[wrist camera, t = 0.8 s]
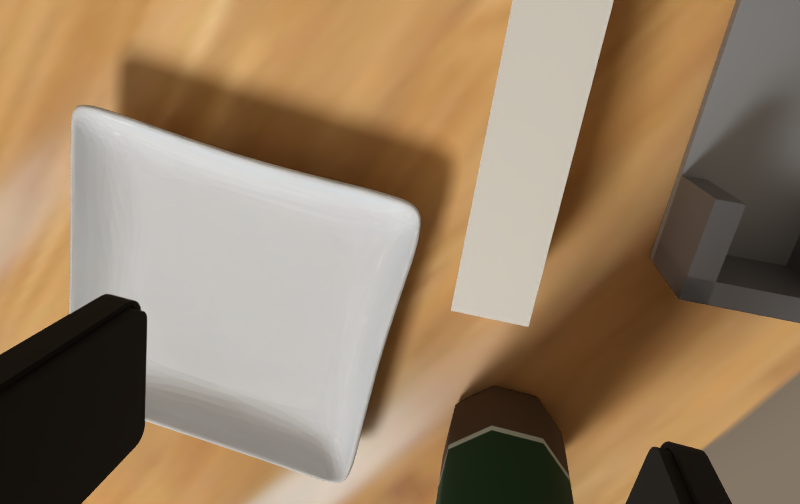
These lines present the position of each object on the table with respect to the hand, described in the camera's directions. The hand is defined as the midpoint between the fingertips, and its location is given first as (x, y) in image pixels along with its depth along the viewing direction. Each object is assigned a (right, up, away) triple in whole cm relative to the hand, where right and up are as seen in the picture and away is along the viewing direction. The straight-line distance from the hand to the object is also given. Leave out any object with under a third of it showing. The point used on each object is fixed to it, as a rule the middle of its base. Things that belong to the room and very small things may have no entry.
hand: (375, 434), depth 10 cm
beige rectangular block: (+7, +9, +21) cm, 24 cm away
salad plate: (-10, +1, +28) cm, 29 cm away
